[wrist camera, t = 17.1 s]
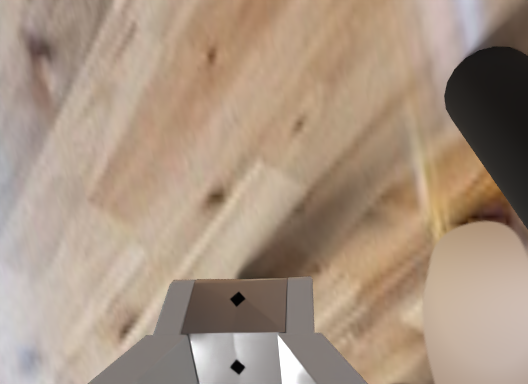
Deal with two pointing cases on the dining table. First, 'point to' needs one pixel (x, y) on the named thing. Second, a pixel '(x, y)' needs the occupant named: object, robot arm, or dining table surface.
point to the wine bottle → (495, 117)
